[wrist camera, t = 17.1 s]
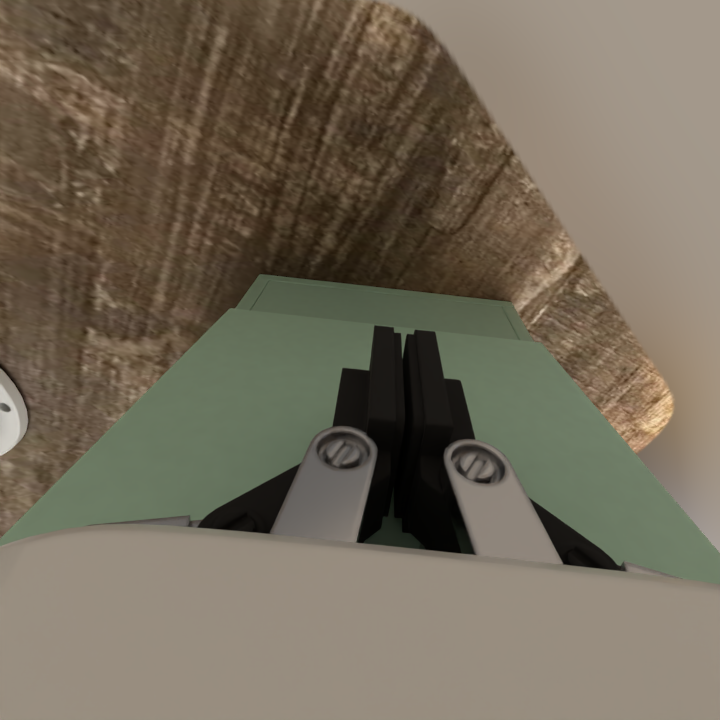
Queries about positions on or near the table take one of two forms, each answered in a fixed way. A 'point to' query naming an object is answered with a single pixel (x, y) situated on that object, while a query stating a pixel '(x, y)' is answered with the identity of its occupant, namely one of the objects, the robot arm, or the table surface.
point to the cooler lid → (316, 412)
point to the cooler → (384, 307)
